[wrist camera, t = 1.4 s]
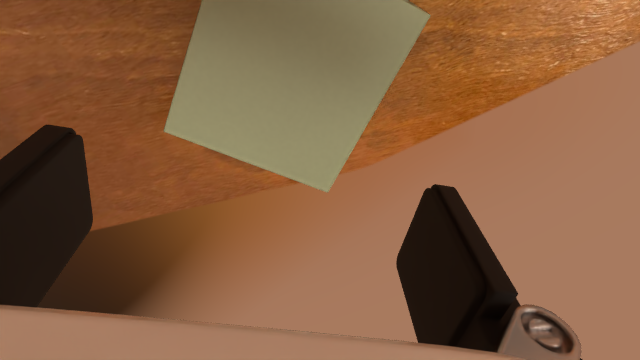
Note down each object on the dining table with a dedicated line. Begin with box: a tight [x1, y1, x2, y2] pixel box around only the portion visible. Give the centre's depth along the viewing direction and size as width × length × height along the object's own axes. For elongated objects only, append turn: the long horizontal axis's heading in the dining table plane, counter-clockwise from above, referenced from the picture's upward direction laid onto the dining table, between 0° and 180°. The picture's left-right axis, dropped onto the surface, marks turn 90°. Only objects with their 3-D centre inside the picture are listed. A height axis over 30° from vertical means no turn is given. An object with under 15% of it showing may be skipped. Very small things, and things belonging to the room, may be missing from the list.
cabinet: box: [164, 0, 430, 192], centre depth 28 cm, size 14×12×9 cm
